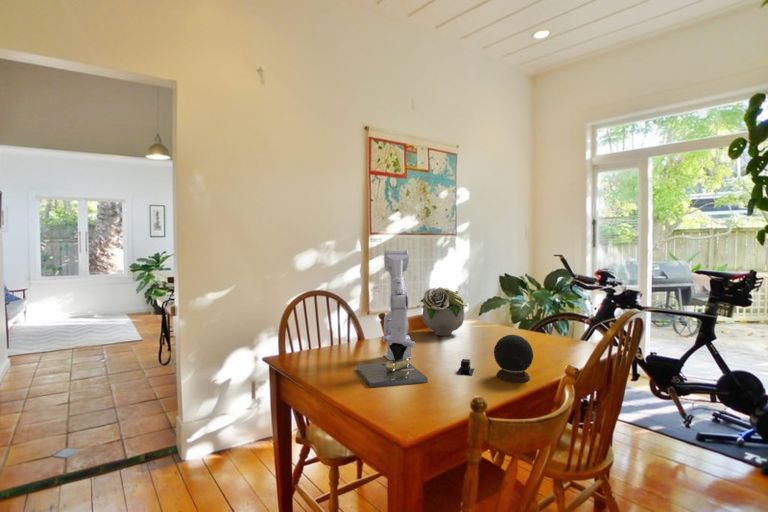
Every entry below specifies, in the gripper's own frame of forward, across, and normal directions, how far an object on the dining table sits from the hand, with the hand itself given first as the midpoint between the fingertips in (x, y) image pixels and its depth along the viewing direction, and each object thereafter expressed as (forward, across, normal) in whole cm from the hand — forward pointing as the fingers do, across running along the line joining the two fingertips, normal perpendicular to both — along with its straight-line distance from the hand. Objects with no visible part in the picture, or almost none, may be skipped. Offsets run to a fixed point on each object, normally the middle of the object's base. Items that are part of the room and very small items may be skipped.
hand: (398, 363), depth 153 cm
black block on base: (+3, +18, +17) cm, 25 cm away
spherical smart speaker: (+3, +34, +23) cm, 41 cm away
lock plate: (+2, +2, -6) cm, 7 cm away
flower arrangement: (+3, -24, +62) cm, 67 cm away
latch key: (0, +2, -3) cm, 3 cm away
